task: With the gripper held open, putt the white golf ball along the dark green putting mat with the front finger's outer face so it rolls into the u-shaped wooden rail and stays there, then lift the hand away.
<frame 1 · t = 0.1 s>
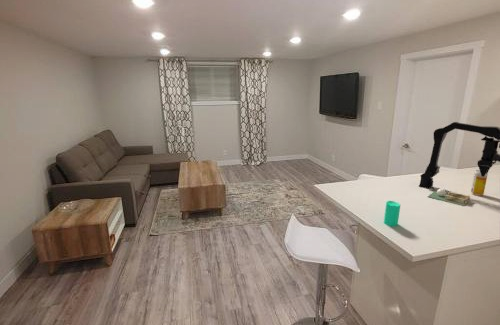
hand: (484, 174, 155), 15 cm above the table, tool pointing down, fingers open, 9 cm apart
u-shaped wooden rail: (457, 200, 155), resting on putting mat
putting mat: (448, 198, 159), on the table
candle: (390, 223, 128), on the table
orange cylindrical container: (476, 194, 165), on the table
golf ball: (441, 192, 161), point 3 cm above the table, touching putting mat
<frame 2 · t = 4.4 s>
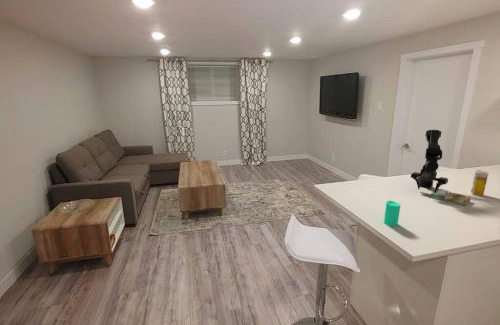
hand: (426, 190, 167), 2 cm above the table, tool pointing down, fingers open, 8 cm apart
golf ball: (441, 192, 161), point 3 cm above the table, touching gripper, putting mat
everything else where it was.
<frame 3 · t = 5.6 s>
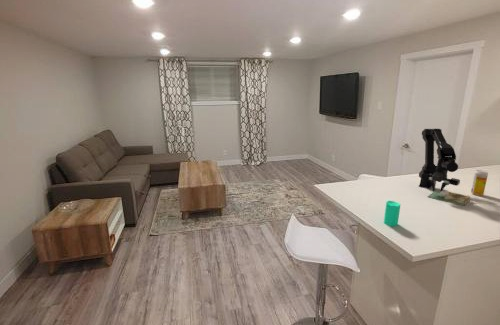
hand: (436, 191, 162), 3 cm above the table, tool pointing down, fingers open, 3 cm apart
golf ball: (444, 193, 160), point 3 cm above the table, tilted 42°, touching gripper, putting mat
everything else where it was.
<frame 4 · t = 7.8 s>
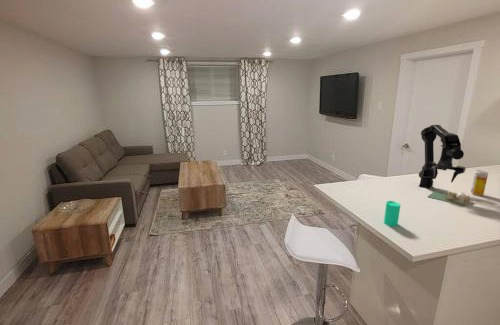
hand: (442, 180, 159), 10 cm above the table, tool pointing down, fingers open, 9 cm apart
golf ball: (461, 196, 155), point 3 cm above the table, tilted 109°, touching putting mat
everything else where it was.
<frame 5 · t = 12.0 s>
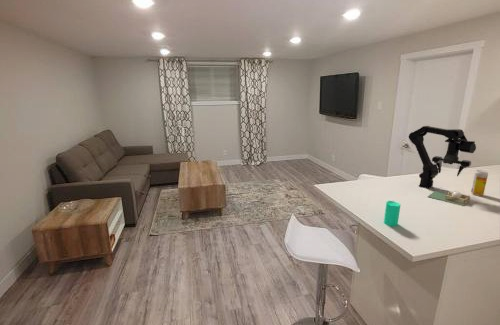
hand: (448, 174, 165), 12 cm above the table, tool pointing down, fingers open, 9 cm apart
golf ball: (456, 195, 156), point 3 cm above the table, tilted 149°, touching putting mat
everything else where it was.
at the end: golf ball inside the target area on the u-shaped wooden rail (1.2 cm from its centre), point 2.6 cm above the u-shaped wooden rail's base; golf ball moved 7.4 cm from its start; the gripper is holding nothing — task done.
